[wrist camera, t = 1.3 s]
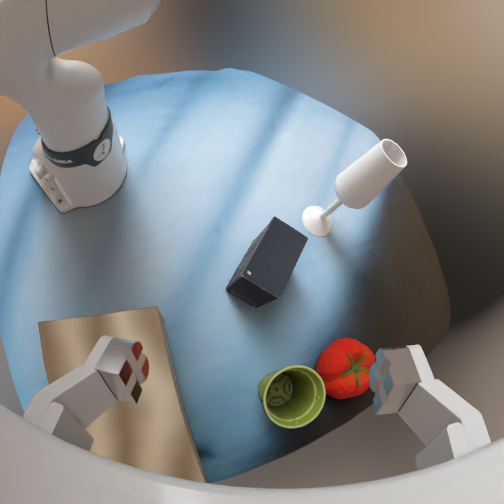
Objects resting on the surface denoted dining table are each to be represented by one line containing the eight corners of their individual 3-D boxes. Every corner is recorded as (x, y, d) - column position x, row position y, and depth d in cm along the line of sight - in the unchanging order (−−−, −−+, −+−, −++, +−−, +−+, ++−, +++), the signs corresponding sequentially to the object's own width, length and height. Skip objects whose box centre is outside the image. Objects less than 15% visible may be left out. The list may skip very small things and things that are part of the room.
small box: (258, 310, 47) (281, 300, 37) (224, 290, 46) (238, 275, 37) (284, 258, 51) (310, 237, 41) (253, 239, 50) (273, 214, 41)
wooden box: (119, 467, 32) (100, 514, 17) (81, 330, 38) (38, 322, 23) (199, 457, 36) (214, 504, 21) (163, 318, 42) (156, 306, 27)
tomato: (359, 390, 47) (383, 394, 40) (308, 399, 44) (330, 406, 37) (358, 337, 50) (383, 334, 43) (308, 340, 47) (330, 338, 40)
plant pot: (251, 420, 40) (268, 435, 32) (244, 366, 43) (260, 371, 35) (303, 408, 43) (328, 418, 35) (297, 358, 46) (322, 359, 38)
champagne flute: (335, 217, 57) (413, 153, 35) (326, 243, 54) (410, 183, 32) (308, 199, 56) (378, 125, 34) (297, 225, 54) (371, 152, 32)
